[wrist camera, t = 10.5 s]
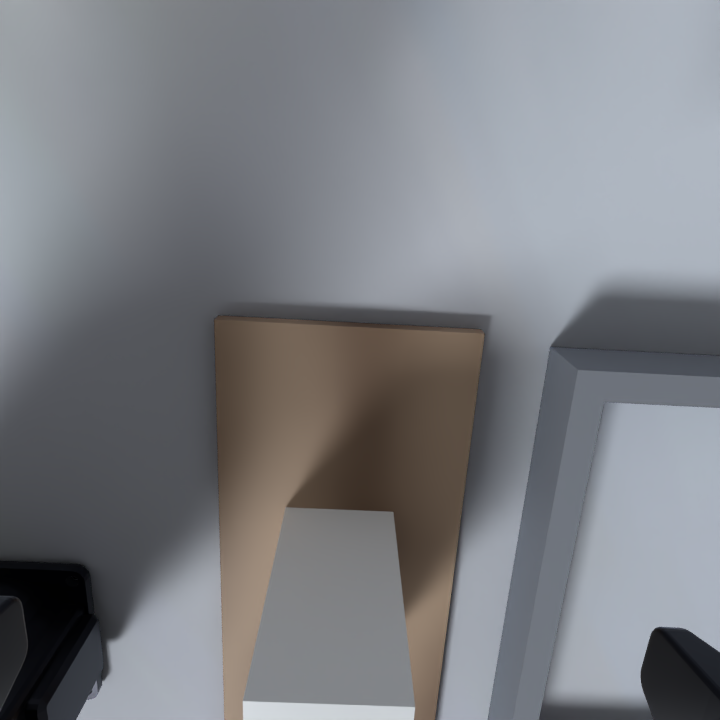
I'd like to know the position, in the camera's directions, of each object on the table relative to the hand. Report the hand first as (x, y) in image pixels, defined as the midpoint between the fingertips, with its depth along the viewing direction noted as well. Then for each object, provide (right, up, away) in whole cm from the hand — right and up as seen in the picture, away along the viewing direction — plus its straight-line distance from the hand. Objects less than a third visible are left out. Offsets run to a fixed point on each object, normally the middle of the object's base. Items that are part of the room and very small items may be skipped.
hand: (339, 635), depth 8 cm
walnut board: (-1, -4, +14) cm, 15 cm away
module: (-1, -5, +13) cm, 14 cm away
